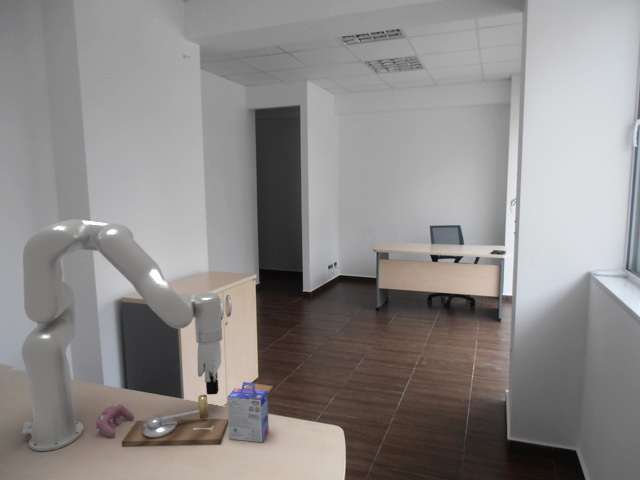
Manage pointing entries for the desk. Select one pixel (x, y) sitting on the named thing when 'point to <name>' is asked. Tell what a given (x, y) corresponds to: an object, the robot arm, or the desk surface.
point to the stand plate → (181, 434)
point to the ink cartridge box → (248, 414)
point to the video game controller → (114, 414)
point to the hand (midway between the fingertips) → (212, 392)
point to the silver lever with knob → (172, 420)
